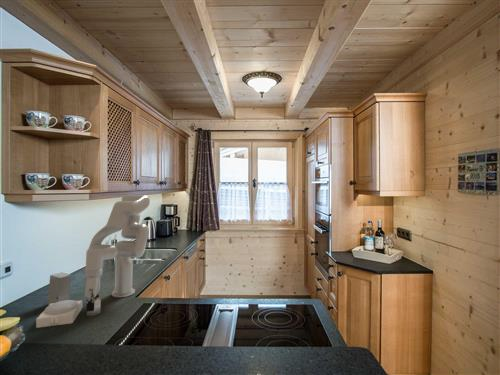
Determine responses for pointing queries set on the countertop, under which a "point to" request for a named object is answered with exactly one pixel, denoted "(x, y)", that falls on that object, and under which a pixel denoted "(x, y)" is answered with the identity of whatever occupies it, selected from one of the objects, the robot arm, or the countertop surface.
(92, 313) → the steel spacer
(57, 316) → the scale
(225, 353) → the countertop surface
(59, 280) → the skincare box
